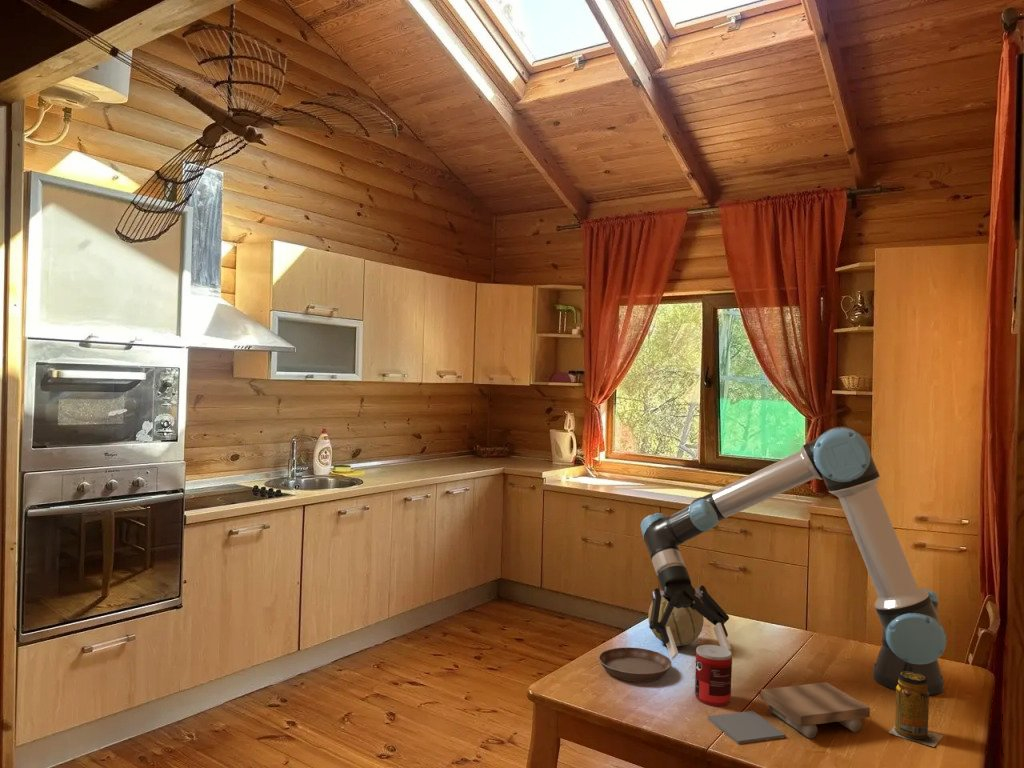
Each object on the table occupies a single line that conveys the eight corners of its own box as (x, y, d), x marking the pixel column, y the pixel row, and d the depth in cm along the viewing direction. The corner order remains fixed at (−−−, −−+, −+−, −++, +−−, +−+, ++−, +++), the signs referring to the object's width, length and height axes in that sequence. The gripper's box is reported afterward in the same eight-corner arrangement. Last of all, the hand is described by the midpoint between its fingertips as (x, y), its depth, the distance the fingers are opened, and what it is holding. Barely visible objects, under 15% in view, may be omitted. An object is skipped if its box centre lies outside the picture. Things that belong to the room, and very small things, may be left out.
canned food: (703, 688, 172) (704, 641, 172) (736, 698, 167) (737, 650, 167) (688, 699, 166) (690, 650, 166) (722, 710, 161) (724, 660, 161)
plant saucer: (604, 654, 193) (604, 642, 193) (673, 663, 188) (673, 651, 188) (593, 680, 176) (593, 667, 176) (668, 690, 171) (668, 677, 171)
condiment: (898, 722, 158) (900, 666, 158) (943, 736, 152) (945, 678, 152) (887, 733, 152) (889, 676, 152) (933, 748, 147) (935, 688, 147)
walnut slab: (825, 704, 166) (826, 682, 166) (869, 731, 153) (869, 707, 153) (760, 712, 161) (761, 689, 161) (800, 741, 148) (800, 716, 148)
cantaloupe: (710, 642, 203) (711, 588, 203) (692, 658, 191) (694, 600, 191) (658, 631, 211) (660, 578, 211) (639, 646, 199) (640, 590, 199)
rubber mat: (752, 713, 160) (752, 710, 160) (785, 737, 150) (785, 734, 150) (707, 719, 157) (707, 716, 157) (738, 744, 146) (738, 741, 146)
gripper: (709, 577, 191) (741, 656, 177) (620, 582, 184) (646, 665, 169) (721, 561, 186) (755, 642, 171) (630, 566, 178) (658, 650, 164)
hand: (701, 654), depth 170 cm, fingers open, 13 cm apart
